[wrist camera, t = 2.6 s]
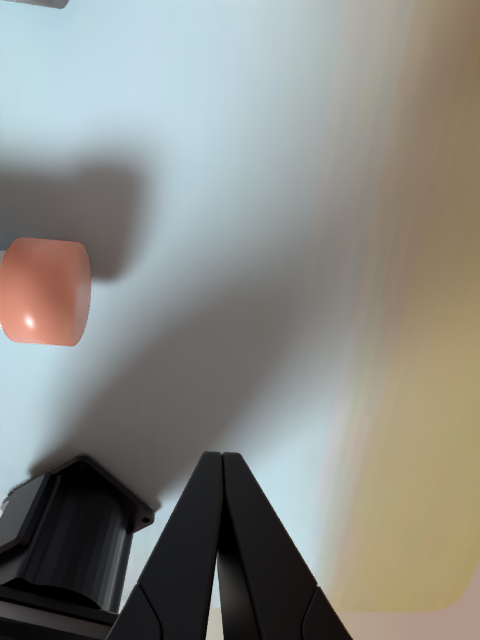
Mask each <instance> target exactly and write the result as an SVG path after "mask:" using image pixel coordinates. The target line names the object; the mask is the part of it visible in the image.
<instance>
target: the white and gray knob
mask: <svg viewBox="0 0 480 640" xmlns="http://www.w3.org/2000/svg"><path fill="white" fill-rule="evenodd" d="M5 1H11V2H18V3H25V4H31V5H38V6H45V7H51V8H58V9H62V8H64V7H65V6H66V5H67V3H68V1H69V0H5Z"/></svg>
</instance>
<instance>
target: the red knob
mask: <svg viewBox="0 0 480 640" xmlns="http://www.w3.org/2000/svg"><path fill="white" fill-rule="evenodd" d="M90 299H91V269H90V262H89V257H88V254H87V251H86V248H85V247H84V245H83V244H82V243H80V242H72V241H61V240H51V239H40V238H30V237H19V238H17V239H15V240H14V241H13V242H12V243H11V244H10V246H9V247H8V249H7V251H1V250H0V328H3V331H4V333H5V334H6V336H7V337H8V338H9V339H10V340H11V341H13V342H17V343H32V344H46V345H60V346H75V345H76V344H77V343H78V342H79V340H80V339H81V337H82V335H83V332H84V329H85V326H86V323H87V318H88V313H89V307H90Z"/></svg>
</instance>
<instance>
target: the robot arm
mask: <svg viewBox="0 0 480 640" xmlns="http://www.w3.org/2000/svg"><path fill="white" fill-rule="evenodd" d="M81 464H83V465H81ZM1 510H2V511H3V514H2V516H1V518H0V640H205V639H206V632H207V624H208V617H209V610H210V602H211V595H212V587H213V580H214V572H215V565H216V557H217V569H218V580H219V591H220V602H221V613H222V624H223V635H224V640H353V638H352V637H351V636H350V635H349V633H348V631H347V630H346V628H345V627H344V625H343V623H342V622H341V620H340V619H339V617H338V615H337V614H336V612H335V611H334V609H333V608H332V606H331V604H330V603H329V601H328V599H327V598H326V596H325V594H324V593H323V591H322V589H321V587H319V586H317V584H318V583H317V581H316V579H315V578H314V576H313V574H312V573H311V571H310V569H309V568H308V566H307V564H306V563H305V561H304V559H303V558H302V556H301V554H300V553H299V551H298V549H297V548H296V546H295V544H294V542H293V541H292V539H291V537H290V536H289V534H288V532H287V531H286V529H285V527H284V526H283V524H282V522H281V521H280V519H279V517H278V516H277V514H276V512H275V511H274V509H273V507H272V506H271V504H270V502H269V501H268V499H267V497H266V495H265V494H264V492H263V490H262V489H261V487H260V485H259V484H258V482H257V480H256V479H255V477H254V475H253V474H252V472H251V470H250V469H249V467H248V465H247V464H246V462H245V460H244V459H243V457H242V455H241V454H240V453H234V452H224V453H223V454H221V453H220V452H211V451H205V452H204V453H203V454H202V456H201V457H200V459H199V461H198V463H197V465H196V467H195V469H194V471H193V473H192V475H191V477H190V479H189V481H188V483H187V485H186V487H185V489H184V491H183V493H182V495H181V497H180V498H179V500H178V502H177V504H176V506H175V508H174V510H173V512H172V514H171V516H170V518H169V520H168V522H167V524H166V526H165V528H164V530H163V532H162V534H161V536H160V538H159V539H158V541H157V543H156V545H155V547H154V549H153V551H152V553H151V555H150V557H149V559H148V561H147V563H146V565H145V567H144V569H143V571H142V573H141V575H140V577H139V579H138V581H137V584H136V585H135V586H134V588H133V590H132V592H131V594H130V596H129V598H128V599H127V601H126V603H125V605H124V607H123V609H122V611H121V613H120V614H118V611H119V607H120V601H121V596H122V591H123V586H124V580H125V575H126V570H127V565H128V559H129V554H130V549H131V544H132V538H133V533H135V532H137V531H139V530H141V529H143V528H145V527H147V526H149V525H151V524H152V523H153V522H154V518H155V513H154V511H153V510H151V509H150V508H149V507H148V506H147V505H146V504H144V503H143V502H142V501H141V500H140V499H138V498H137V497H136V496H135V495H134V494H132V493H131V492H130V491H129V490H128V489H126V488H125V487H124V486H123V485H122V484H120V483H119V482H118V481H117V480H116V479H114V478H113V477H112V476H111V475H110V474H109V473H107V472H106V471H105V470H104V469H103V468H101V467H100V466H99V465H98V464H97V463H95V462H94V461H93V460H92V459H91V458H89V457H87V456H78V457H76V458H74V459H72V460H70V461H69V462H67V463H65V464H64V465H62V466H60V467H58V468H57V469H55V470H53V471H52V472H48V473H44V474H43V475H41V476H39V477H37V478H36V479H34V480H32V481H30V482H29V483H27V484H25V485H24V486H22V487H20V488H18V489H17V490H15V491H14V493H13V494H12V495H10V496H8V497H7V498H5V499H4V501H3V503H2V505H1Z"/></svg>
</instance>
